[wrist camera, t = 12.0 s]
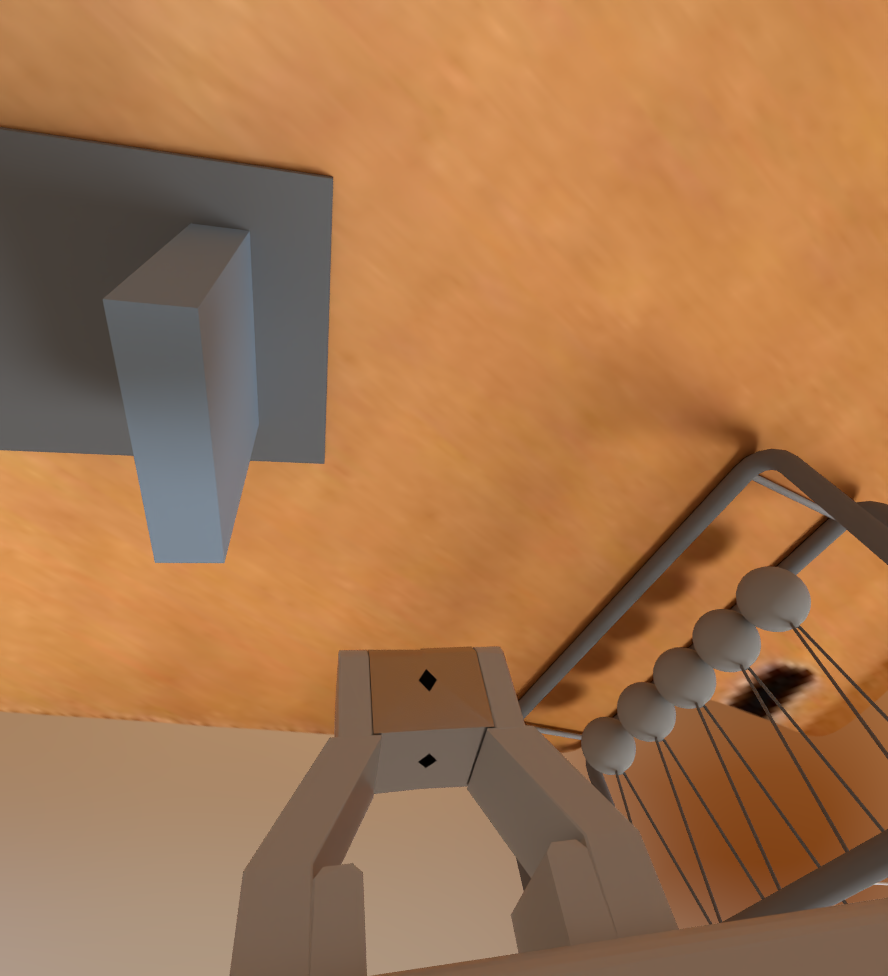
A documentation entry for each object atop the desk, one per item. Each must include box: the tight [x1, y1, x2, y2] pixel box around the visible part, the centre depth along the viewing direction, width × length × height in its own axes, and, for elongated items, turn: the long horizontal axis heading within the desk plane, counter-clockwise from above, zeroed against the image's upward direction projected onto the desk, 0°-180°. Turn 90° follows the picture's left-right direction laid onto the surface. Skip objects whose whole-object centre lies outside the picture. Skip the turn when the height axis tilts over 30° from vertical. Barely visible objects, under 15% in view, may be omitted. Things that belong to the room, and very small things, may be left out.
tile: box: [103, 223, 259, 563], centre depth 18 cm, size 2×8×9 cm, turn 171°
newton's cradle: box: [516, 449, 888, 924], centre depth 32 cm, size 30×10×18 cm, turn 151°
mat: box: [0, 127, 333, 464], centre depth 21 cm, size 12×16×1 cm
